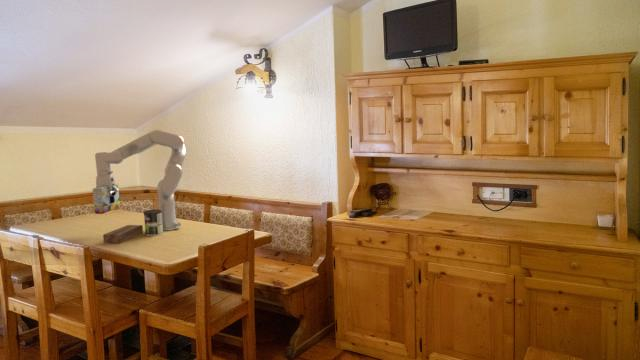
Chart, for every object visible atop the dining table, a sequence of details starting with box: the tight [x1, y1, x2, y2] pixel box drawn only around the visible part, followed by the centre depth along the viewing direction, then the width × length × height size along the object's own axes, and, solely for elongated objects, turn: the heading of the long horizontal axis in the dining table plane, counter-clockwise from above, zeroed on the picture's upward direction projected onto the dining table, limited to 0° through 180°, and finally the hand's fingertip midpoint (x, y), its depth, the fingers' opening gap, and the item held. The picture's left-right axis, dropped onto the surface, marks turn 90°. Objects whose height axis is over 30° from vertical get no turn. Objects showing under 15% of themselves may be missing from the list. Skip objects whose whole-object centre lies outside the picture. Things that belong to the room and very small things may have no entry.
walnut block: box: [102, 224, 144, 245], centre depth 266 cm, size 10×24×5 cm, turn 171°
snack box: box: [92, 182, 121, 215], centre depth 271 cm, size 21×6×15 cm, turn 179°
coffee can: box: [143, 209, 164, 237], centre depth 275 cm, size 10×10×14 cm
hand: (107, 202), depth 271 cm, fingers closed on snack box, 6 cm apart
